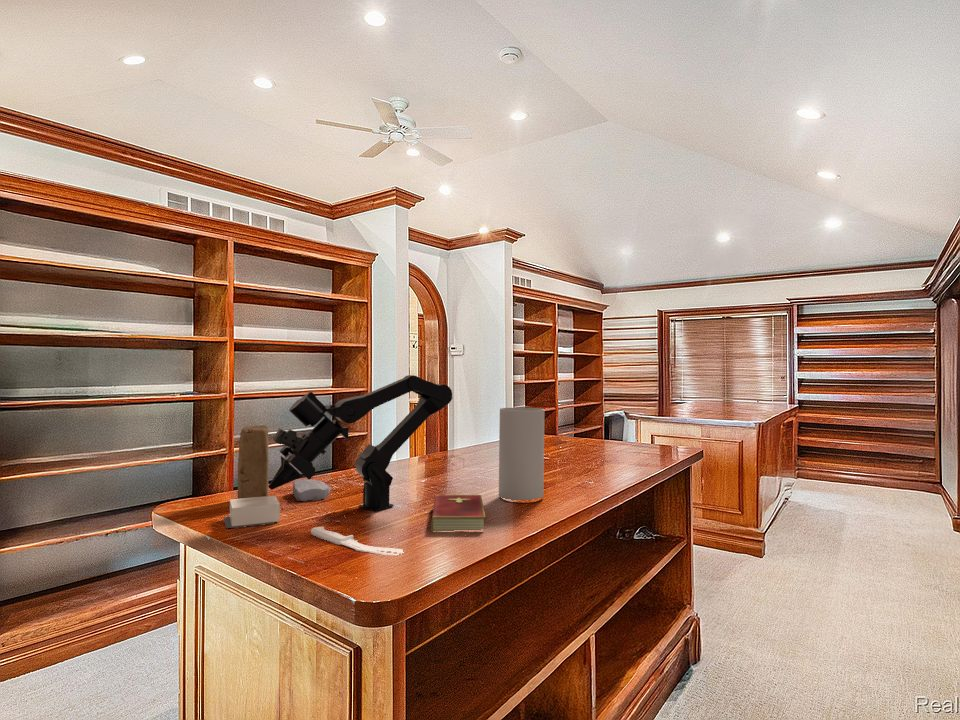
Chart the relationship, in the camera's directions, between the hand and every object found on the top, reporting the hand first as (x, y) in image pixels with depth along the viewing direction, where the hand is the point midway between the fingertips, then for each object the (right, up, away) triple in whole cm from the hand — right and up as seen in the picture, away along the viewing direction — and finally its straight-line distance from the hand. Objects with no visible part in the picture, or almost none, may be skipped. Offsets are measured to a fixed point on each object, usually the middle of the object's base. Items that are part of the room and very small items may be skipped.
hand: (269, 488), depth 129 cm
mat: (-4, -7, -2) cm, 9 cm away
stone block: (+3, -8, +24) cm, 25 cm away
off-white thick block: (+1, -5, +1) cm, 5 cm away
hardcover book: (+44, -9, +2) cm, 45 cm away
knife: (+27, -8, -18) cm, 34 cm away
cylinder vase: (+61, -9, +24) cm, 66 cm away
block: (-11, -8, +17) cm, 21 cm away
